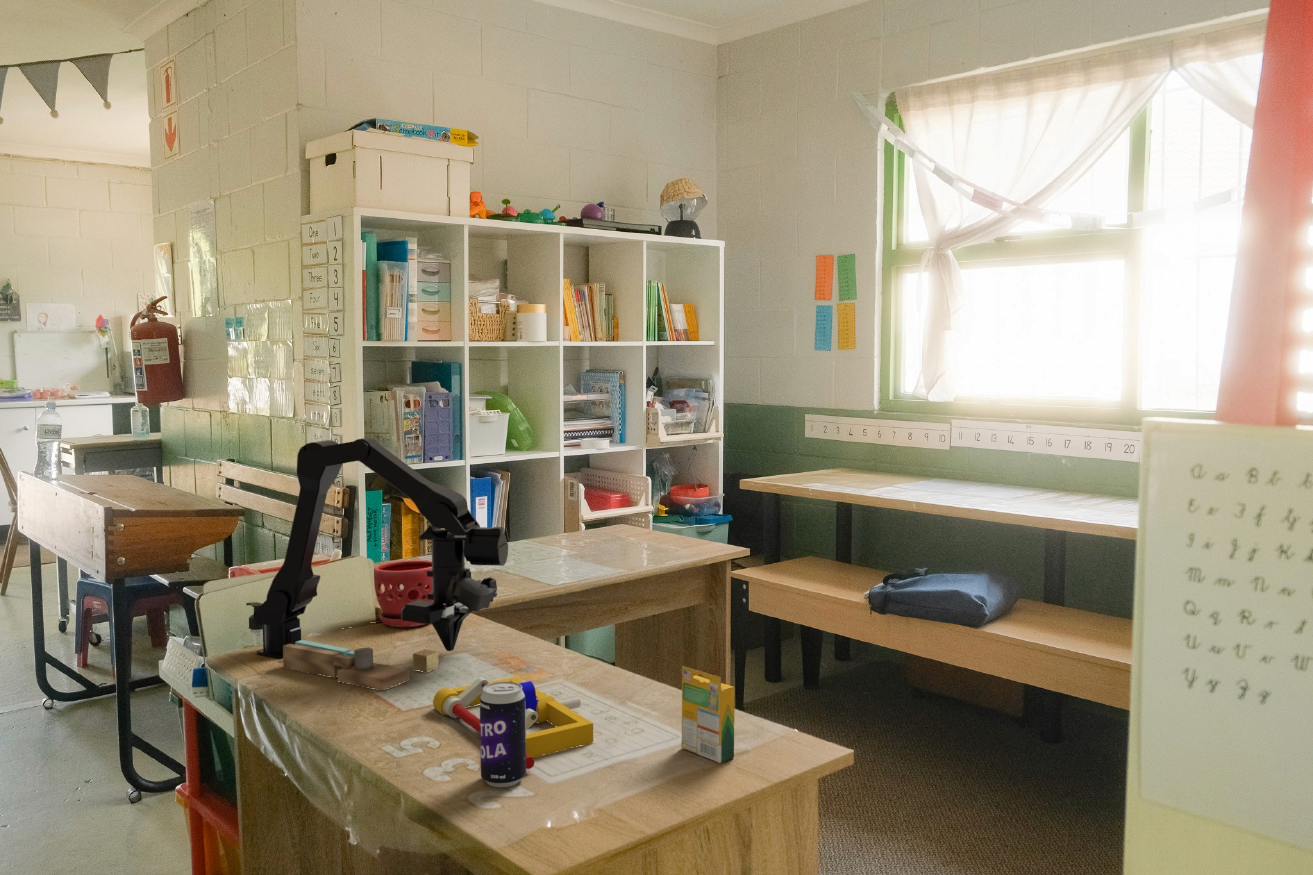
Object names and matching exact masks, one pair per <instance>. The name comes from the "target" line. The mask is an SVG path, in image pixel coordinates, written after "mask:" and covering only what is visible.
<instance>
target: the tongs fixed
mask: <svg viewBox="0 0 1313 875" xmlns="http://www.w3.org/2000/svg"><path fill="white" fill-rule="evenodd" d="M353 651H354V657H350V656H345V655H341V653H339V652H334V651H328V650H323V649H317V648H311V647H306V646H300V645H295V644H287V645H284V646H283V657H282V658H283V660H282V661H283V669H284V670H289V669H291V670H290V671H294V670H297V671H296V672H299V671H302V672H301V673H305V672H309V673H308V674H310V673H313V674H312V675H315V674H321V675H325V676H331V677H336V676H337V682H338V681H340V682H344V683H350V684H353V685H352V686H354V685H359V686H364V687H369V688H375V689H378V690H377V691H379V690H385V689H387V688H390V687H391V686H395V685H398V684H399V683H402V682H404V681H407V680H408V679H409V680H410V672H409V670H410V669H409V668H404V667H400V666H393V665H388V664H385V663H383V664H382V663H377V662H374V649H373V648H371V647H362V648H356V649H354V650H353ZM341 667H345V668H343V669H341ZM325 676H324V677H325ZM407 682H408V681H407ZM344 683H343V684H344ZM402 684H403V683H402ZM359 686H358V687H359ZM398 686H399V685H398ZM364 687H363V688H364ZM395 687H396V686H395ZM369 688H368V689H369ZM390 689H391V688H390Z"/></svg>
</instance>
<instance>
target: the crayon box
mask: <svg viewBox="0 0 1313 875" xmlns="http://www.w3.org/2000/svg"><path fill="white" fill-rule="evenodd" d="M681 675H682V676H681V749H682V750H684V751H688V752H691V753H693V754H695V755H696V754H697V755H699V756H701V757H704V758H707V759H709V760H711V761H714V762H716V763H718V764H721V763H725V762H727V761H729V760H732V759H733V758H735V693H736V692H735V689H736V688H735V686H732V685H731V684H726V683H723V682H722V677H721V676H718V675H714V674H710V673H707V672H704V671H702V670H697V669H696V668H695V669H694V668H691V667H688V666H685V665H682V666H681ZM700 675H701V676H700Z"/></svg>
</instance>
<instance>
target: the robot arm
mask: <svg viewBox="0 0 1313 875" xmlns="http://www.w3.org/2000/svg"><path fill="white" fill-rule="evenodd" d="M353 462H360V463H361V464H363V465H364V466H366V467H367V468H368V469H370V471H372V472H373V473H374V474H376V475H378V476H379V477H380V478H382V479H383V480H384V481H386V482H387V483H388V484H390V485H391V486H392V487H394V488H395V489H397V490H398V491H399V492H401V493H402V494H403V495H405V496H406V497H408V499H410V500H411V501H412V503H413V504H414V505H415V507H416V509H417V510H418V512H419V513H420V514H421V515H422V516H423V518H425V520H426V521H427V522H428V523H430V525H428V526H427V528H426V529H425V530H424V532H423V533H421V534H420V535H419V536H418V538H419V540H425V541H426V540H429V541H431V561H432V569H431V570H428V571H427V576H428V577H432V592H431V593H428V594H427V599H430V600H433V602H429V601H422V600H417V601H414V602H411V603H408V604H405V605H404V607H403V608H402V620H403V621H409V622H416V623H422V624H426V625H428V624H431V626H432V627H433V628H434V631H435V632H436V634H437V635H438V637H439V639H440V641H441V643H442V645H443V646H444V649H445V651H446V652H452V651H454V649H455V647H456V643H457V640H458V637H459V634H460V631H461V628H462V625H463V622H464V620H465V619H466V618H467V617H468V616H469V615H471V614H472V613H473V612H480V611H481V610H483V609H488V608H489V607H490V605H491V603H492V602H493V603H494V598H497V596H498V593H497V590H498V588H497V586H498V585H497V580H496V579H495V578H493V577H492V576H489V577H488V576H487V577H485V578H483V579H482V580H480V579H477V580H476V579H473V578H472V571H471V569H470V568H466V565H465V564H466V562H469V564H470V565H471V566H492V567H493V566H496V567H497V566H500V567H503V566H505V564H506V563H507V561H508V555H509V543H508V541H507V536H506V535H505V533H504V532H505V531H504V526H493V527H487V526H486V527H484V526H483V527H481V524H480V523H479V522H478V521H477V519H476V518H475V517H474V516H473V514H472V513H471V511H470V510H469V508H468V507H469V506H468V501H467V499H466V498H465V497H464V495H462V494H461V493H459V492H457V491H455V490H453V489H450V488H449V487H447V486H446V485H445V486H444V485H441V484H439V483H436V482H432V481H431V480H428V479H427V478H426V477H424V476H423V475H421V474H420V473H419V472H417V471H416V470H415V469H414V468H412V467H411V466H409V465H408V464H407V463H405V462H404V461H403V460H402V459H400V458H399V457H397V455H395V454H393V453H392V452H390V451H389V450H388V449H386V448H385V447H384V446H383V445H381V444H380V443H379V442H378V440H376V439H375V438H373V437H363V438H358V439H355V440H353V441H347V442H342V443H338V442H336V441H334V440H331V439H325V440H320V441H313V442H308V443H305V444H304V445H303V446H301V447H300V448H299V450H298V451H297V457H296V477H297V481H298V484H299V493H298V497H297V501H296V506H295V511H294V515H293V519H292V524H291V528H290V534H289V537H288V543H287V547H286V552H285V557H284V560H283V562H282V565H281V567H280V568H279V570H278V571H277V573H276V575H275V576H274V578H273V579H272V582H271V584H270V586H269V589H268V590H267V593H266V599H265V600H264V602H263V603H262V604H261V605H260V606H259V607H258V608H257V609H255V611H254V612H253V617H254V620H255V622H256V624H257V625H261V626H262V648H260V649H258V650H256V651H255V652H256V653H255V654H256V655H262V656H266V657H267V656H268V657H273V658H276V659H277V658H278V659H282V658H283V646H284V645H287V644H295V642H297V641H300V640H302V628H301V619H300V618H299V617H298V616H300V615H304V614H305V611H306V609H307V606H308V605H309V604H311V602H312V601H313V598H315V597H318V591H317V590H318V585H319V583H320V581H321V575H319V574H314V571H313V568H312V563H313V558H314V553H315V549H316V544H317V538H318V535H319V531H320V526H321V522H322V517H323V514H324V513H323V512H324V509H325V504H326V499H327V495H328V492H329V489H330V488H331V486H332V485H333V484H334V482H335V481H336V479H337V478H338V476H339V473H340V471H341V469H342V466H343V464H349V463H353Z"/></svg>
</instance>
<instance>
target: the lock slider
mask: <svg viewBox="0 0 1313 875" xmlns="http://www.w3.org/2000/svg"><path fill="white" fill-rule="evenodd" d="M412 665H413V666H412V671H413V670H420V671H423V672H428V671H430V670H433V669H436V668H438V669H439V651H438V650H431V649H426V648H425V649H421V650H420V651H417V652H413V653H412ZM436 670H437V669H436ZM423 672H422V673H423Z"/></svg>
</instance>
